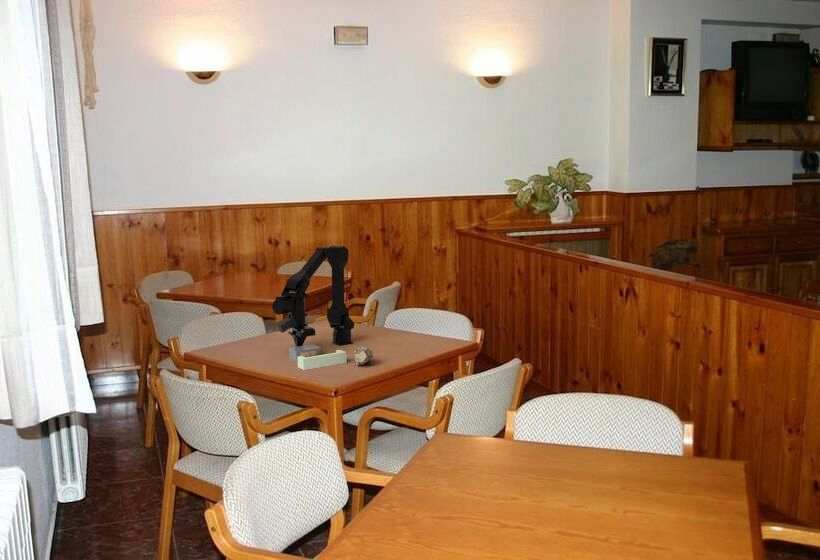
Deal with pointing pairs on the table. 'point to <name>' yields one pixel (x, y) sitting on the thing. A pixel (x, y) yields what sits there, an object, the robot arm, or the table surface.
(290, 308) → the robot arm
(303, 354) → the roller
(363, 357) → the rock
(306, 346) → the slab
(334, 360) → the board
